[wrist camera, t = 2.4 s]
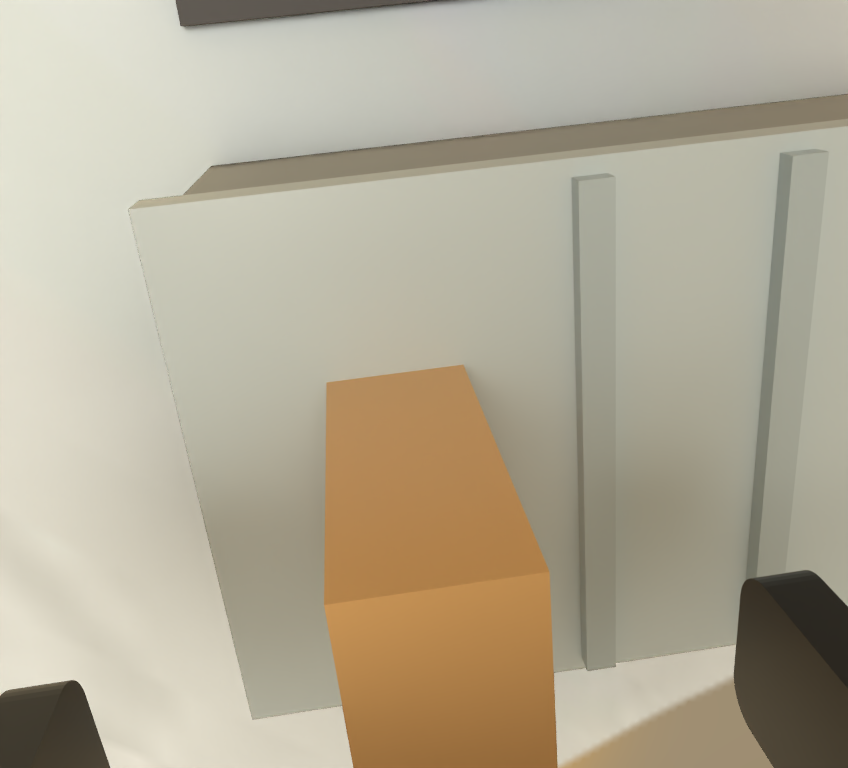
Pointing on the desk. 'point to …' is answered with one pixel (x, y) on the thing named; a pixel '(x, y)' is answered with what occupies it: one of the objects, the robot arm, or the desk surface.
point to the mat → (266, 8)
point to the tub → (519, 143)
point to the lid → (507, 420)
